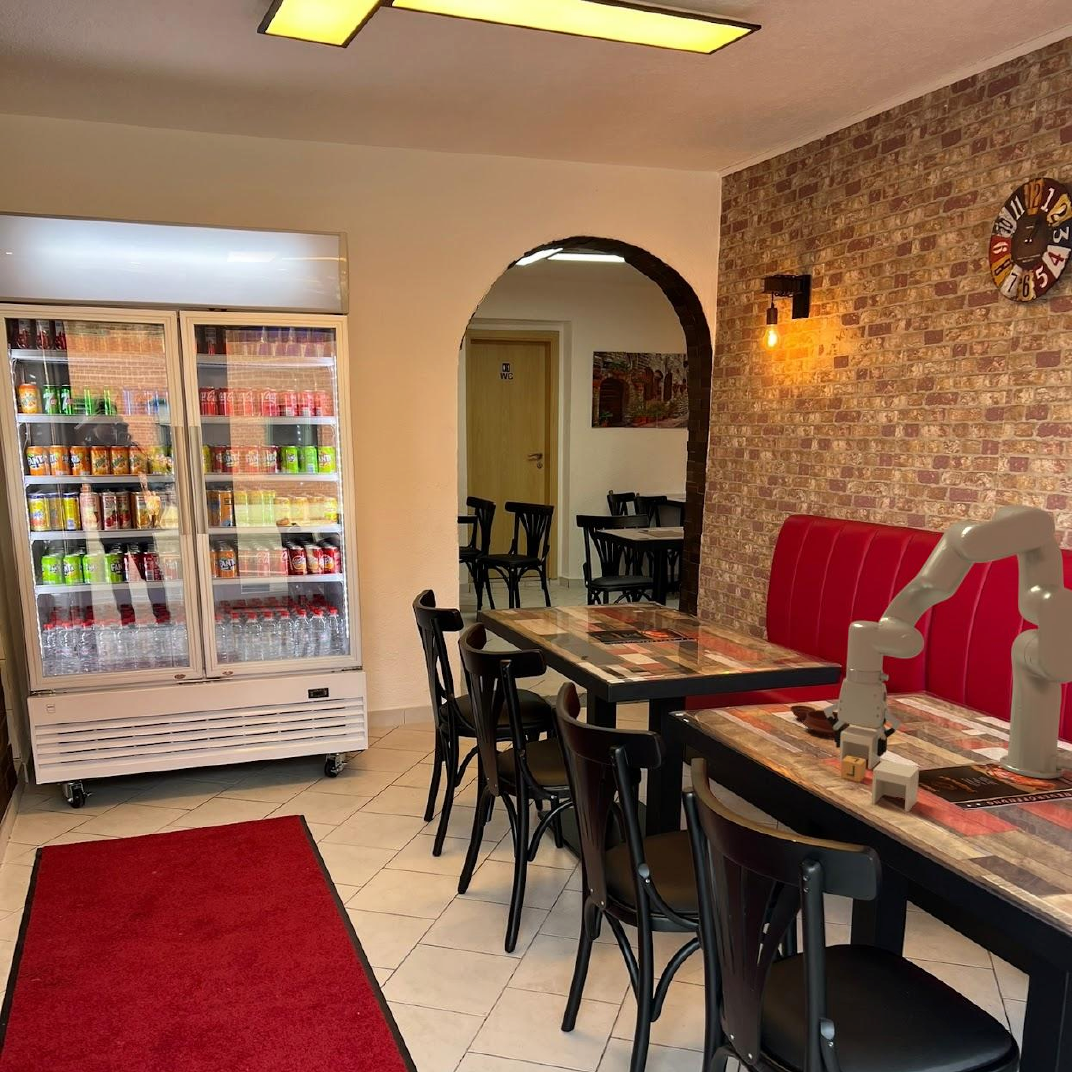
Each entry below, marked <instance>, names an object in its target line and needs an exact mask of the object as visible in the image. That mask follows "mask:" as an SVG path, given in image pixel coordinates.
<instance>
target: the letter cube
mask: <svg viewBox="0 0 1072 1072" xmlns="http://www.w3.org/2000/svg"><path fill="white" fill-rule="evenodd" d="M866 766H867V759H864V758H859V757H854V756H848V755H847V756H846V757H845V758H844V759H843V760H842V763H841V771H840V772H841V773H840V774H841V775H840V778H841V779H844V778H846V779H845V780H848V779H849V780H850V781H852V780H853V782H857V781H858V782H857V783H860V782H862V780H864V779H865V778H866V770H867V767H866Z"/></svg>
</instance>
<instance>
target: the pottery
mask: <svg viewBox="0 0 1072 1072" xmlns="http://www.w3.org/2000/svg"><path fill="white" fill-rule="evenodd" d="M789 709H790V711H791V712H792V714H793V716H795V717H796V720H797V721H799V722H802V724H803V726H804V727H806V728H808V729H810V730H814V731H815V732H816V733H815V732H814V731H813V732H814V733H815V734H817V733H818V735H820V736H827V737H835V730H834V729H833V726H832V725H831V724H830V722H829V721H828V718H827V717H826V715H825V713H824V709H821V710H820V709H818V710H817V709H815V708H814V707H811V706H807V705H792V706H790V708H789ZM832 713H833V716H834V717H835V718H836V719H837V720H838V711H832ZM838 721H839V720H838ZM850 725H851V724H846V723H845V724H844V725H843V728H844V730H845V729H846V728H848V727H849V726H850Z"/></svg>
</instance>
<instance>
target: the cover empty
mask: <svg viewBox="0 0 1072 1072" xmlns="http://www.w3.org/2000/svg"><path fill="white" fill-rule="evenodd" d="M872 770H873V771H872V784H871V785H872V786H871V802H870V803H871V804H874V805H875V804H876V803H877V802H878V801H879V800H880V799H881V798H882V796H889V797H891V798H896V797H900V798H904V799H903V800H905V803H904V812H906V811H907V812H906V813H909V812H910V810H911V809H912V808H913V807H914V806H915V805H916V804H917V802H918V790H919V773H920V767H917V766H912V765H907V764H903V763H899V762H893V761H889V760H884V759H882V761H881V762H880V763H878V764H877V766H876V765H875V766H874V767H873V768H872ZM880 797H881V798H880ZM900 798H899V799H900ZM913 805H914V806H913ZM912 806H913V807H912Z"/></svg>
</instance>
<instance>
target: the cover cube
mask: <svg viewBox="0 0 1072 1072" xmlns="http://www.w3.org/2000/svg"><path fill="white" fill-rule="evenodd" d="M879 738H880V736H879V734H878V733H877V731H876V730H875V729H872V728H866V727H861V726H856V725H851V724H850V726H849V727H848V728H846V729H845V730H843V731H842V732H841V738H840V748H839V764H842V760H843V759H844V758H845V757H846V756H847V755H848V756H853V757H857V758H862V759H866V760H868V761H867V762H868V763H867V764H868V765H867V769H868V770H873V769H874V768H875V767H876V765H878V764H879V762H880V761H881V757H879V756H878V755H877V747H878V739H879Z"/></svg>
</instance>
